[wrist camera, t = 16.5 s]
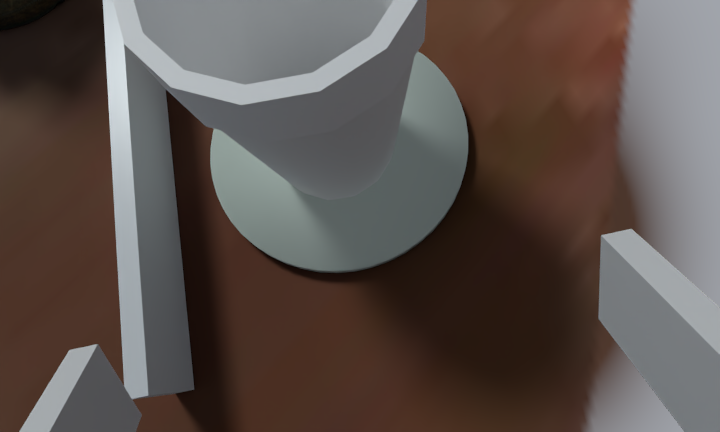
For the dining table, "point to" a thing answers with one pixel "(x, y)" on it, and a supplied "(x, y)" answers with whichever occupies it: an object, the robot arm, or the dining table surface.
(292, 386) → the dining table surface
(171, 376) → the acrylic wall
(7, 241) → the dining table surface
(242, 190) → the resting disc
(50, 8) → the owl figurine
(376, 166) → the foam cup
